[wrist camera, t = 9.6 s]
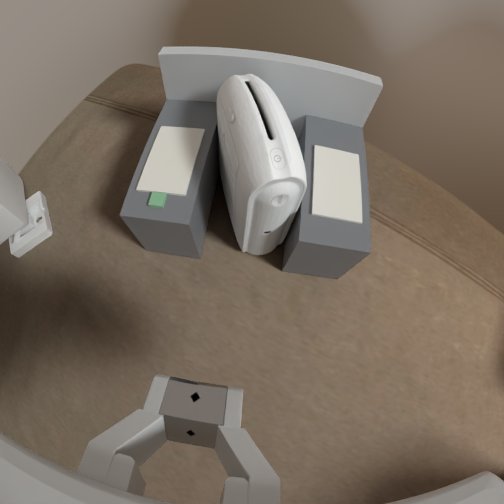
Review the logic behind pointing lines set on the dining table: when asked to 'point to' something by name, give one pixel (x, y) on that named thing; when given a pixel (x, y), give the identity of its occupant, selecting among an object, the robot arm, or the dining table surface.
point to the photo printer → (258, 163)
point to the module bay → (207, 164)
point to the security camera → (21, 213)
